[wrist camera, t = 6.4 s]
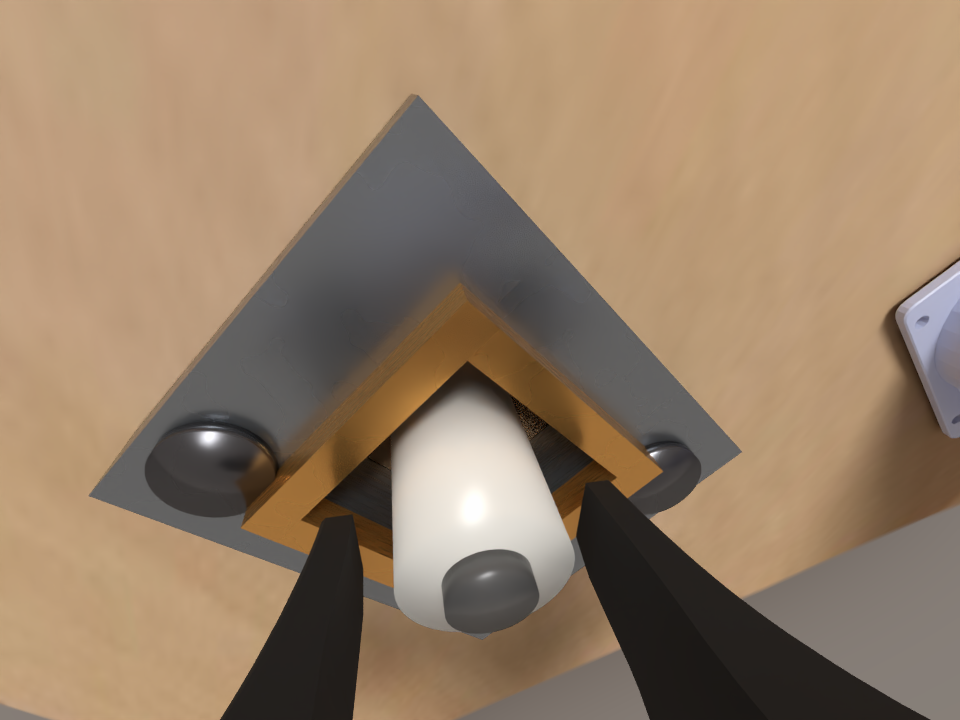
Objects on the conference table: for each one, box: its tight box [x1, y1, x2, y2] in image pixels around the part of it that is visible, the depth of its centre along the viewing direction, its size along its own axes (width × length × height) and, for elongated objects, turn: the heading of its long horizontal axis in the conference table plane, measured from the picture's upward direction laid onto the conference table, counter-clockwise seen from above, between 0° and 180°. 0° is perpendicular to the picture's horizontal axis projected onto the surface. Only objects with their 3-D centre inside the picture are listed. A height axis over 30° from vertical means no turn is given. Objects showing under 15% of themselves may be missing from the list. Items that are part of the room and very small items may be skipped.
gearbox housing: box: [89, 94, 742, 640], centre depth 13 cm, size 14×12×4 cm
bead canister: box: [391, 361, 575, 634], centre depth 12 cm, size 4×4×7 cm
